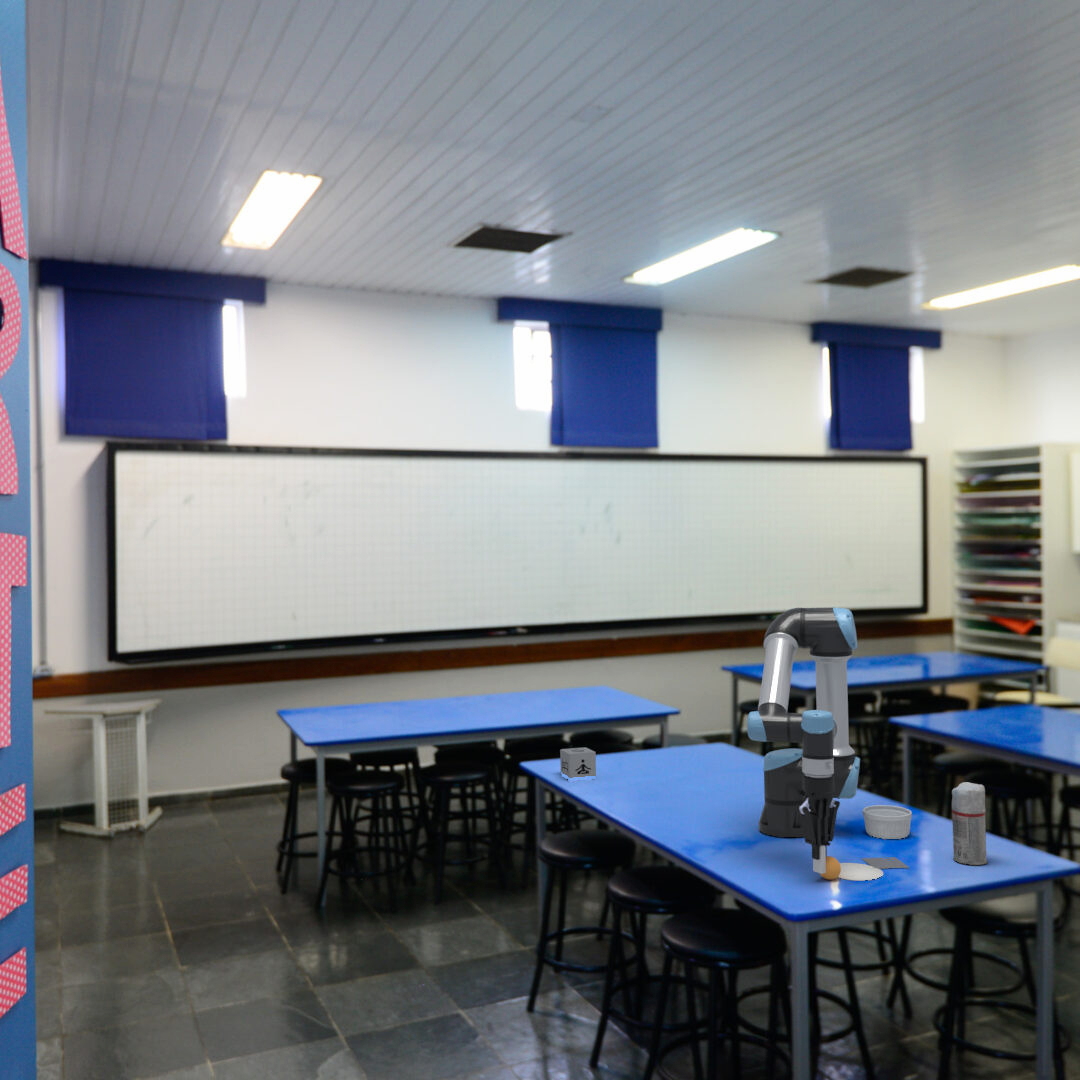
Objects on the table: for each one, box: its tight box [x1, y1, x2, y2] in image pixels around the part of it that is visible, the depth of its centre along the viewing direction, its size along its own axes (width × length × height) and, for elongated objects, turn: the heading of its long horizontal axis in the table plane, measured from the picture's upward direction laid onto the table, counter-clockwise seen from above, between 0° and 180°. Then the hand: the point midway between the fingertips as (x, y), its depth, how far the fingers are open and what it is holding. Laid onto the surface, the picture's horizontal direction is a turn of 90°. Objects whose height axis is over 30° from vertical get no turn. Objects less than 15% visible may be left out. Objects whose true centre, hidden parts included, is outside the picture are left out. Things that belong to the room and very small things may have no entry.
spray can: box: [951, 781, 988, 866], centre depth 262 cm, size 8×8×20 cm
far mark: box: [861, 856, 910, 870], centre depth 261 cm, size 9×9×1 cm
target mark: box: [837, 862, 884, 882], centre depth 254 cm, size 14×14×1 cm
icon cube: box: [559, 746, 597, 778], centre depth 369 cm, size 10×10×10 cm
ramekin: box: [862, 804, 913, 840], centre depth 288 cm, size 13×13×7 cm
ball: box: [819, 855, 841, 881], centre depth 249 cm, size 6×6×6 cm
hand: (819, 871), depth 247 cm, fingers closed
